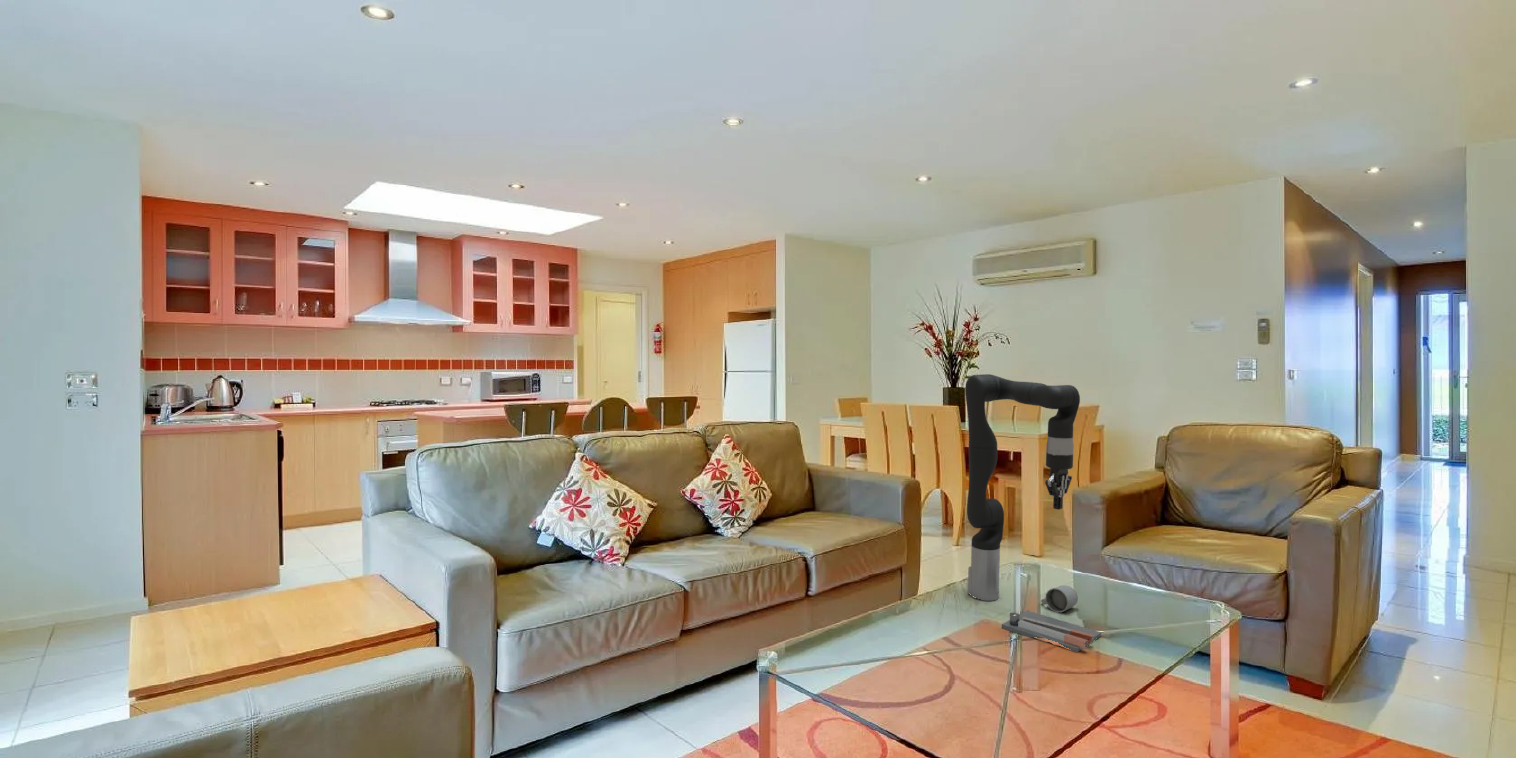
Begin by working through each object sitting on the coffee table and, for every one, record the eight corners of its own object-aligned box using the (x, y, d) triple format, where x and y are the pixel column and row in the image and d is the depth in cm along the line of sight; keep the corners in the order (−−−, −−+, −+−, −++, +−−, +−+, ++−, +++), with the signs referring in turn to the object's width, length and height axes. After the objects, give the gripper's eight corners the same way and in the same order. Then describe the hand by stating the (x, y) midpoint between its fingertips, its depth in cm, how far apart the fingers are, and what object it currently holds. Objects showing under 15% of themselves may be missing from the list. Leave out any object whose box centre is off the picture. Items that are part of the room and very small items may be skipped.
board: (1001, 628, 225) (1001, 624, 225) (1027, 614, 235) (1027, 610, 235) (1077, 652, 208) (1077, 648, 208) (1101, 636, 219) (1101, 632, 219)
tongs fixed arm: (1006, 624, 224) (1007, 614, 224) (1012, 621, 227) (1012, 611, 227) (1084, 649, 207) (1085, 638, 207) (1090, 645, 209) (1090, 635, 209)
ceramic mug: (1079, 609, 240) (1079, 585, 239) (1067, 615, 234) (1067, 591, 234) (1048, 600, 248) (1048, 578, 247) (1035, 606, 242) (1036, 583, 242)
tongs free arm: (1021, 625, 223) (1022, 618, 223) (1024, 623, 225) (1024, 616, 225) (1091, 643, 210) (1091, 636, 210) (1093, 641, 212) (1093, 634, 212)
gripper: (1057, 447, 228) (1055, 503, 230) (1037, 452, 219) (1035, 510, 221) (1081, 450, 223) (1079, 507, 224) (1061, 456, 214) (1059, 515, 215)
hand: (1057, 508), depth 222 cm, fingers closed
